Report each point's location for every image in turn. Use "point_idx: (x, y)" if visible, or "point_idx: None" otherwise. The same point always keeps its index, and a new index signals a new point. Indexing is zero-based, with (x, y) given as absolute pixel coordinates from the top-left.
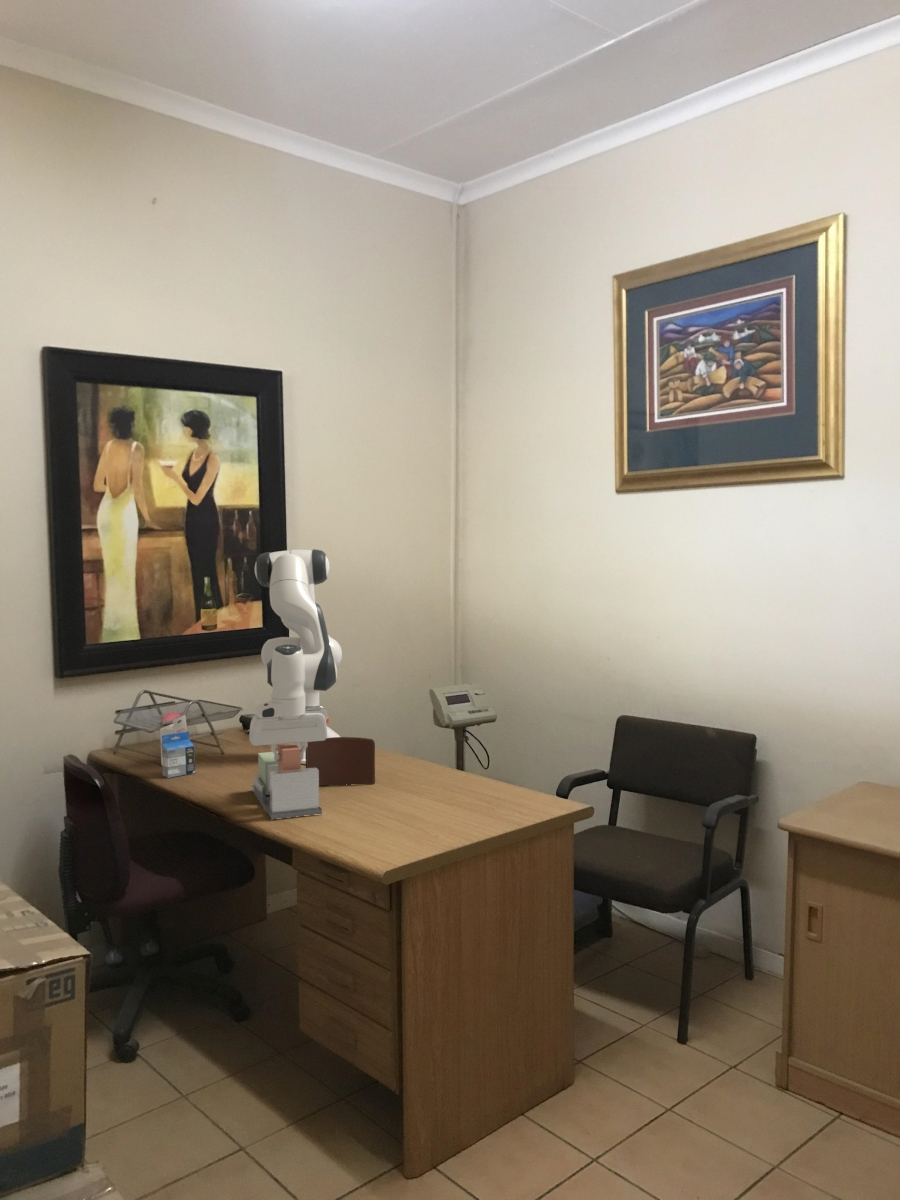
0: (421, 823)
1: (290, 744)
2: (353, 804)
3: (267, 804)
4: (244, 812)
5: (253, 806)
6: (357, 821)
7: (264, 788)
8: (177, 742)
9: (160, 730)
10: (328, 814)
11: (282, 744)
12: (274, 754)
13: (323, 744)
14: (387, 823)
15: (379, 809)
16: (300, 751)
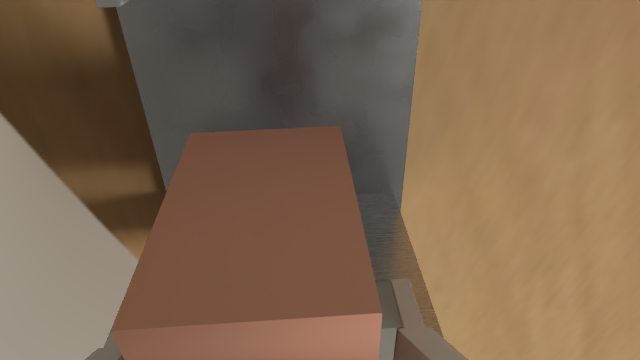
0: (628, 351)
1: (308, 351)
2: (575, 135)
3: (161, 122)
4: (50, 109)
5: (83, 15)
6: (477, 306)
7: (115, 4)
8: None
9: None
10: (418, 227)
11: (188, 331)
12: (111, 346)
13: None
14: (547, 335)
15: (619, 221)
16: (397, 355)
